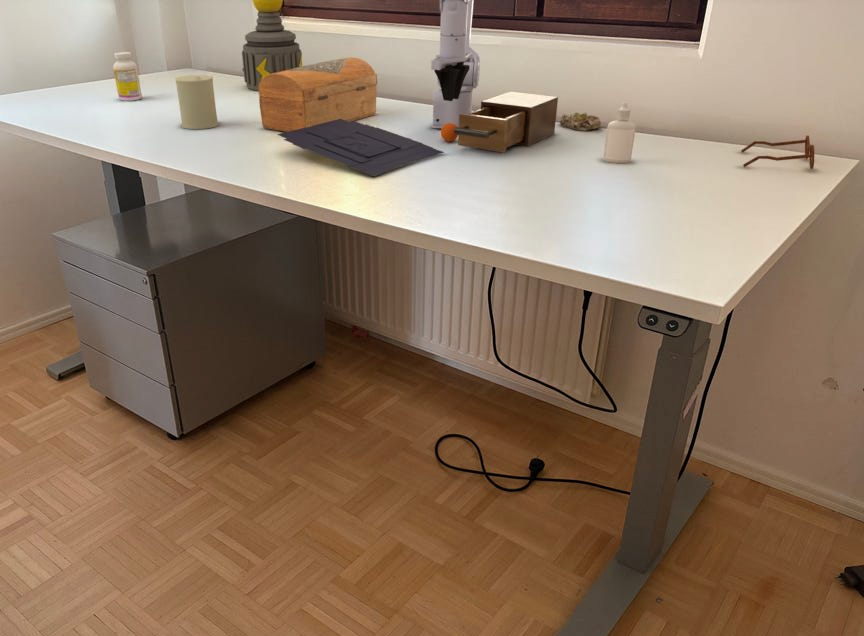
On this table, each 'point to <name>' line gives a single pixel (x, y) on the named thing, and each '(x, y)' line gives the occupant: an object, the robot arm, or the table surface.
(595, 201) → the table surface
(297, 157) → the table surface
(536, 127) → the cabinet
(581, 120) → the mineral rock
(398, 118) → the table surface
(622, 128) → the eye dropper bottle
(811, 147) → the glasses
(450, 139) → the ball
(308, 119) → the wooden box
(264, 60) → the decorative lamp
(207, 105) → the can
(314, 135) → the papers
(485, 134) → the drawer
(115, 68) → the supplement bottle
